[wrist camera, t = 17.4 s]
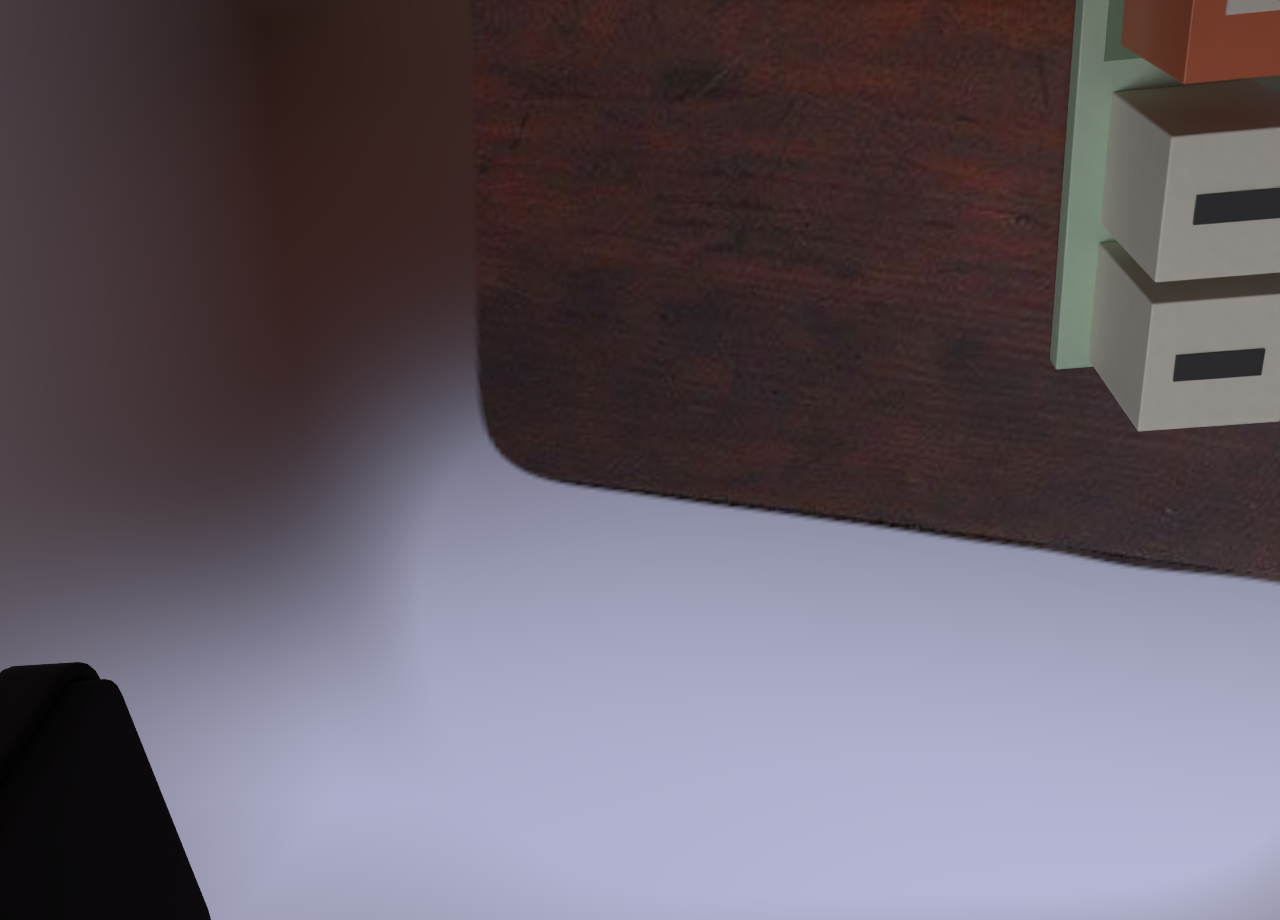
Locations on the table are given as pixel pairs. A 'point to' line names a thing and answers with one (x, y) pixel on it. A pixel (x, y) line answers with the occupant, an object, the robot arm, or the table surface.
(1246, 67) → the red block
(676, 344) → the table surface
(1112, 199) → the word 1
